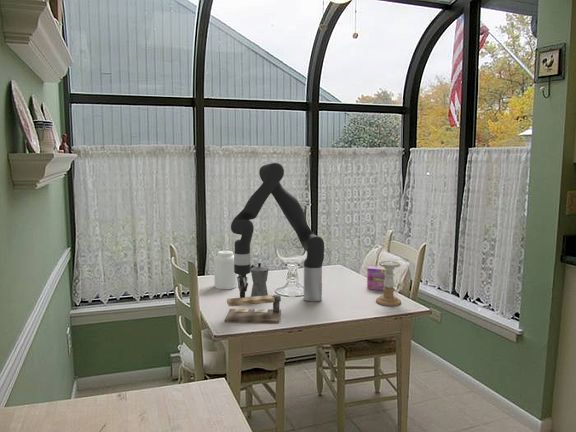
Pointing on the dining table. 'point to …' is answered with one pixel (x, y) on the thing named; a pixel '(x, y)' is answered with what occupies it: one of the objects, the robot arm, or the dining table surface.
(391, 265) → the candle holder
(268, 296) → the swing arm
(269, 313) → the label board
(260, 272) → the coffeepot
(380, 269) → the box
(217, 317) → the dining table surface
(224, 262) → the white jar
